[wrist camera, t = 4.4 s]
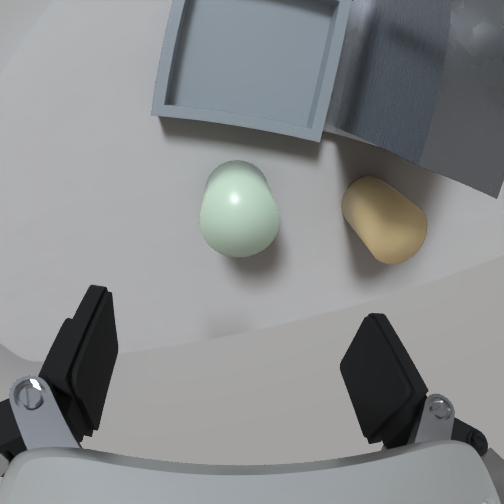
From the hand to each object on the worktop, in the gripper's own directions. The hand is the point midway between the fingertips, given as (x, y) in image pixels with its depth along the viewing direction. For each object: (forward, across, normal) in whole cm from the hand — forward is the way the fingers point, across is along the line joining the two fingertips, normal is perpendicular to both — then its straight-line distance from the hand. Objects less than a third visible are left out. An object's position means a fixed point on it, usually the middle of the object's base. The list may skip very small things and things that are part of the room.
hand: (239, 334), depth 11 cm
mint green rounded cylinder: (+15, 0, 0) cm, 15 cm away
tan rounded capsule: (+15, -12, -2) cm, 19 cm away
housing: (+15, -10, -14) cm, 22 cm away
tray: (+15, 0, -11) cm, 19 cm away
